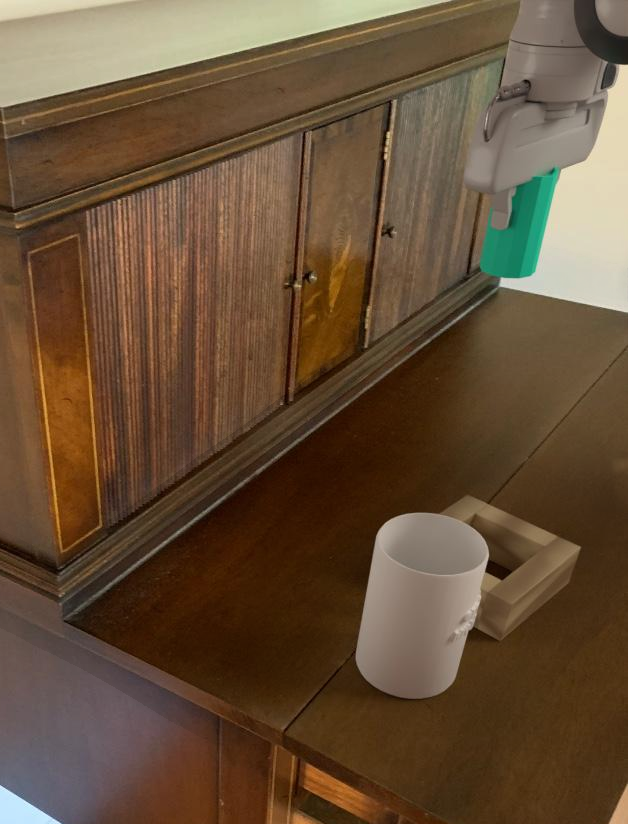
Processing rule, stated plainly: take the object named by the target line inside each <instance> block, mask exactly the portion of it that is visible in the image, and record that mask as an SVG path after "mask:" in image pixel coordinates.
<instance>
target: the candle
mask: <svg viewBox="0 0 628 824" xmlns="http://www.w3.org/2000/svg"><path fill="white" fill-rule="evenodd" d="M558 173H559V170H558V168H557V166H556V167H554V169H553V171H552V172H551V173H549V174H546V175H544V176H533V178H532V180H531V181H529V182H526V183H524V184H521V185H518V186H517V188H516V192H515V195H514V196H512V210H513V211H515V213H514V218H513V222H512V225H511V226H510V227H509V228H506V229H504V230H498V229H494V228H492V227H491V224H490V223H491V218H492V213H493V210H492V205H491V204H490V209H489V214H488V219H487V224H486V230H485V234H484V240H483V244H482V249H481V255H480V260H479V264H478V266H479V269H480V271H481V272H482V273H485V274H487V275H489V276H492V277H496V278H502V279H523V278H529V277H531V276H532V275H534V274H535V273H536V271H537V266H538V261H539V257H540V253H541V249H542V244H543V242H544V241H543V240H544V237H545V232H546V228H547V224H548V220H549V215H550V210H551V208H552V207H551V206H552V203H553V199H554V195H555V191H556V190H555V189H556V186H557V184H556V182H557V178H558ZM557 183H558V182H557Z"/></svg>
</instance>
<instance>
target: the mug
mask: <svg viewBox="0 0 628 824" xmlns="http://www.w3.org/2000/svg"><path fill="white" fill-rule="evenodd" d="M439 514H440V513H431V512H413V513H405V514H400V515H398V516H395V517H393V518H391V519H389V520H387V521H386V522H384V524H383V525H382V526H381V527H380V528H379V530H378V531H377V534H376V536H375V541H374V547H373V551H372V552H373V553H372V558H371V564H370V570H369V576H368V581H367V586H366V587H367V588H366V593H365V598H364V605H363V610H362V615H361V621H360V627H359V634H358V638H357V645H356V650H355V662H356V666H357V668H358V670H359V672H360V675H362V677H363V678H364V679H365V681H367V682H368V683H369V684H370V685H371V686H373V687H374V688H376V689H378V690H379V691H381V692H383V693H385V694H388V695H391V696H393V697H397V698H402V699H408V700H409V699H410V700H422V699H428V698H432V697H435V696H438V695H440V694H442V693H443V692H445V691H446V690H447V689H449V687H450V686H452V685H453V683H454V682H455V680H456V677H457V673H458V672H459V671H458V670H459V668H460V663H461V658H462V656H463V652H464V648H465V645H466V641H467V638H468V633H469V631H471V630H472V629H473V628H474V627H473V625H474V622H475V619H476V615H477V610H478V606H479V604H480V600H481V590H480V587H481V583H482V580H483V576H484V573H485V572H486V569H487V565H488V562H489V560H488V558H489V551H488V547H487V544H486V542H485V540H484V539H483V537H482V536H481V535H480V534H479V533H478V532H477V531H476V530H475V529H473V528H472V527H470V526H469V525H467V524H465V523H463V522H461V521H459V520H457V519H454V518H451V517H448V516H443V515H439Z"/></svg>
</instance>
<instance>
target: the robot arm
mask: <svg viewBox="0 0 628 824" xmlns="http://www.w3.org/2000/svg"><path fill="white" fill-rule="evenodd" d="M620 66H628V0H520V3H519V9H518V14H517V18H516V20H515V23H514V25H513V27H512V29H511V32H510V35H509V39H508V46H507V50H506V56H505V62H504V66H503V71H502V77H501V83H500V87H499V88H497V90H496V91H495V94H494V96H493V97H492V98H491V100H490V101H489V102H488V103H487V104H486V107H485V108H484V109H482V111H481V113H480V114H479V116H478V119H477V121H476V124H475V127H474V130H473V133H472V136H471V141H470V144H469V149H468V154H467V156H466V161H465V164H464V165H465V166H464V170H463V177H462V178H463V184H464V187H465V189H466V190H468V191H471V192H475V193H478V194H485V195H489V199H490V206H491V205H492V210H493V213H492V218H491V223H490V224H491V227H492V228H494V229H498V230H504V229H506V228H509V227H510V226H511V225H512V222H513V218H514V213H515V211H513V210H512V196H514V195H515V192H516V188H517V186H518V185H521V184H524V183H526V182H529V181H531V180H532V178H533V176H544V175H546V174H549V173H551V172H552V171H553V169H554V167H556V166H557V168H558V170H559V173H558V178H557V182H556V185H557V184H558V182H559V180H560V177H561V172H562V170H564V169H566V168H567V169H568V168H569V167H573V166H574V165H577V164H580V163H582V162H585V161H586V160H587V159H588V158H589V157H590V155H591V153H592V151H593V149H594V148H595V145H596V143H597V139H598V136H599V133H600V130H601V128H602V127H601V126H602V123H603V120H604V116H605V113H606V109H607V106H608V100H609V91H608V90H610V89H612V88H614V87H615V85H616V84H617V81H618V77H619V72H620Z"/></svg>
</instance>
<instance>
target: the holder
mask: <svg viewBox="0 0 628 824" xmlns="http://www.w3.org/2000/svg"><path fill="white" fill-rule="evenodd" d="M438 514H439V515H443V516H448V517H451V518H454V519H457V520H459V521H461V522H463V523H465V524H467V525H469V526H470V527H472V528H473V529H475V530H476V531H477V532H478V533H479V534H480V535H481V536H482V537H483V539H484V540H485V542H486V544H487V547H488V551H489V558H488V561H491V562H492V563H495V564H497V565H499V566H501V567H503V568H504V569H506V570H509V571H510V572H511V573H509V574H508V575H507V576H506V577H505V578H504V579H500V578H498V577H496V576H493V575H492V574H490V573H488V572H486V571H485V573H484V576H483V580H482V583H481V587H480V590H481V600H480V604H479V606H478V610H477V615H476V619H475V622H474V625H473V627H472V628H475V629H478V630H479V631H481V632H482V633H484V634H485V635H488V636H489V637H492V638H493V639H495V640H497V641H498V642H501V641H502V640H504V639H505V638H506V637H507V636H508V635H509V634H511V633H512V632H513V631H514V630H515V629H516V628H518V627H519V626H520V625H521V624H523V622H525V621H526V620H527V619H528V618H529V617H531V616H532V615H533V614H534V613H536V611H538V610H539V609H540V608H541V607H542V606H543V605H544V604H546V603H547V602H548V601H549V600H550V599H552V598H553V597H554V596H555V595H556V594H557V593H559V592H560V591H561V590H562V589H564V588H565V586H567V585H568V584H569V583H570V580H571V577H572V574H573V571H574V569H575V566H576V563H577V560H578V557H579V554H580V552H581V548H582V547H581V546H580V545H577V544H575V543H573V542H571V541H569V540H567V539H564V538H562V537H560V536H558V535H556V534H553V533H551V532H550V531H547V530H545V529H542V528H540V527H538V526H536V525H534V524H532V523H530V522H528V521H525V520H523V519H520V518H519V517H517V516H515V515H512V514H510V513H508V512H506V511H504V510H501V509H500V508H497V507H495V506H493V505H491V504H488V503H486V501H485V502H484V501H482V500H480V499H479V498H476V497H473V496H472V495H469V494H466V495H465V496H463V497H461V499H459V500H457V501H456V502H454V503H453V504H451V505H450V506H448V507H447V508H445V509H444V510H442V511H441V512H439V513H438Z"/></svg>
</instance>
